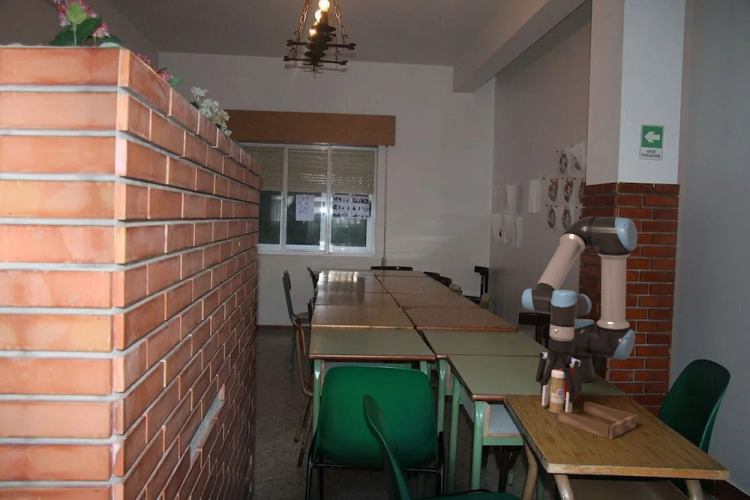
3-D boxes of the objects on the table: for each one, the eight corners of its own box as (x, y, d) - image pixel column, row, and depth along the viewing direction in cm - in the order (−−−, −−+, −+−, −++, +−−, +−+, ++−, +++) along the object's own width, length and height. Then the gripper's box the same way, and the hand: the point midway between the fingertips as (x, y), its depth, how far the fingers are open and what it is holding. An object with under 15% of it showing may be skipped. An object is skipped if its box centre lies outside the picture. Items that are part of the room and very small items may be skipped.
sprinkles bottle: (554, 414, 184) (557, 372, 183) (546, 409, 188) (548, 369, 187) (566, 413, 185) (569, 372, 184) (558, 409, 189) (561, 368, 189)
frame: (585, 411, 188) (585, 400, 188) (636, 426, 176) (637, 415, 176) (558, 422, 177) (559, 410, 176) (611, 439, 165) (612, 427, 164)
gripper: (527, 333, 190) (522, 401, 191) (586, 345, 175) (580, 419, 176) (539, 331, 195) (534, 397, 196) (597, 343, 180) (592, 415, 182)
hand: (556, 408), depth 186 cm, fingers open, 8 cm apart
